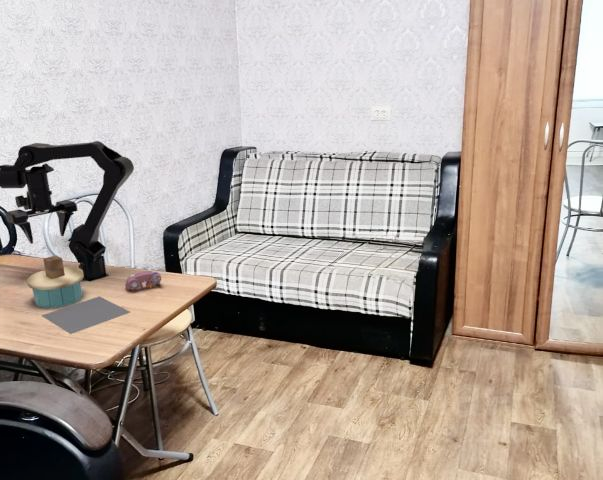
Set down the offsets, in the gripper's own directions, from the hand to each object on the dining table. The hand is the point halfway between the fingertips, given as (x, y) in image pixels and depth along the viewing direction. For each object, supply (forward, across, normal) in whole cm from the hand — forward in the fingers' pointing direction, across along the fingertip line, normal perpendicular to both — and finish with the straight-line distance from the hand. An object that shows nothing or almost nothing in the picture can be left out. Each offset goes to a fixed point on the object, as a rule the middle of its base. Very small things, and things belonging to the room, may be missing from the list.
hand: (47, 239), depth 172 cm
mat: (+12, +7, +34) cm, 37 cm away
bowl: (+12, +7, +19) cm, 24 cm away
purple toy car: (+12, -13, +30) cm, 35 cm away
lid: (+6, +7, +19) cm, 21 cm away
